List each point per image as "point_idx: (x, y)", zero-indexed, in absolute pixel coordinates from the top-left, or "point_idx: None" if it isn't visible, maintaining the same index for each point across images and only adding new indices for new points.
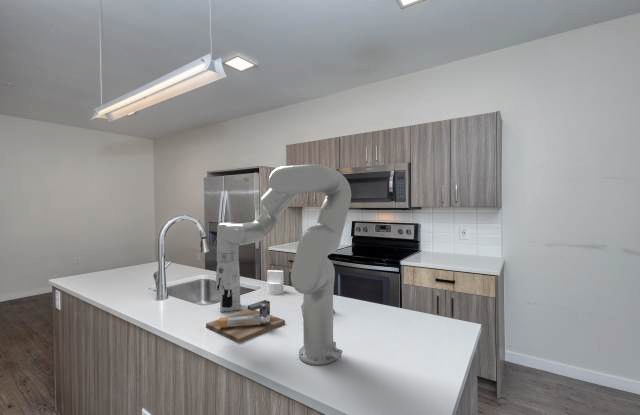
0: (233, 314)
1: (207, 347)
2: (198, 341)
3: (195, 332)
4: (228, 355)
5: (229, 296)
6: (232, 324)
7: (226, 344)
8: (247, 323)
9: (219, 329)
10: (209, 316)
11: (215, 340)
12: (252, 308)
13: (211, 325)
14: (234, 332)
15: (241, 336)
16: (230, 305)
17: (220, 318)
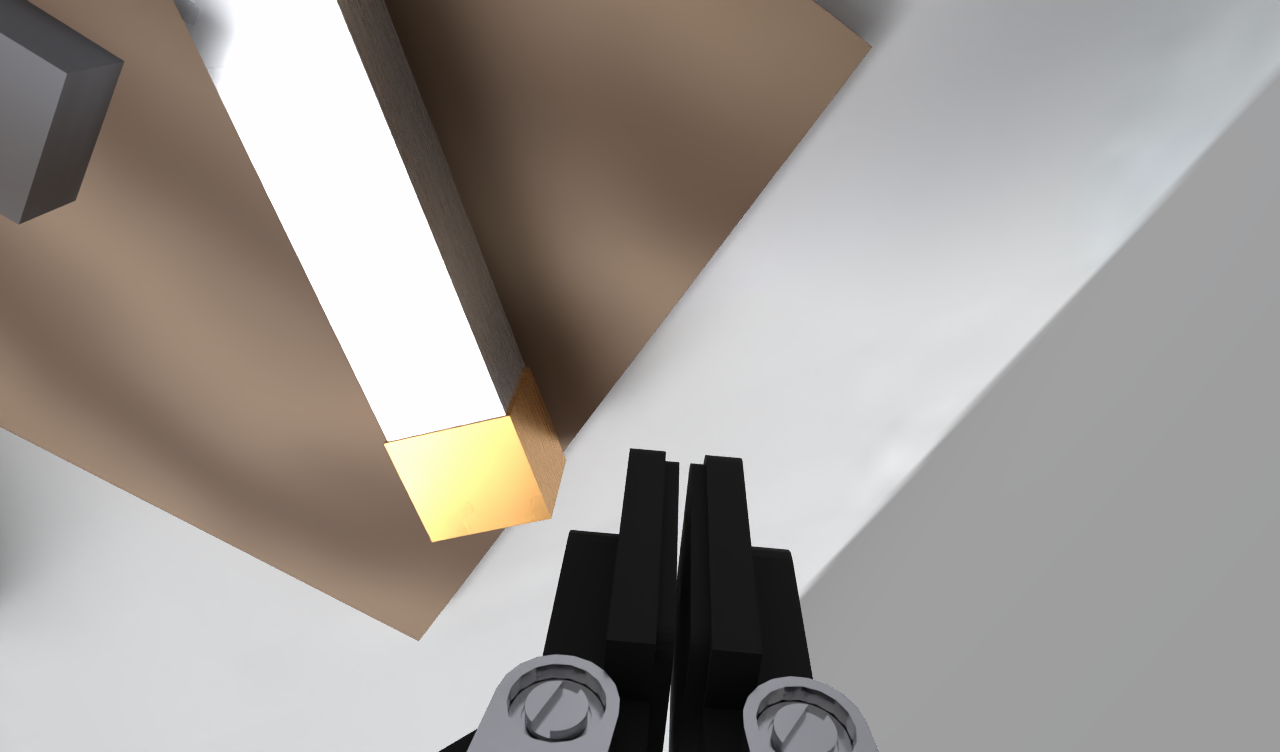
0: (41, 444)
1: (957, 402)
2: (796, 546)
3: None
4: (1233, 55)
5: (775, 693)
6: (491, 310)
7: (888, 210)
8: (403, 75)
9: (565, 440)
10: (143, 678)
11: (769, 386)
12: (82, 65)
13: (461, 568)
14: (641, 207)
15: (779, 40)
16: (741, 480)
17: (460, 526)
